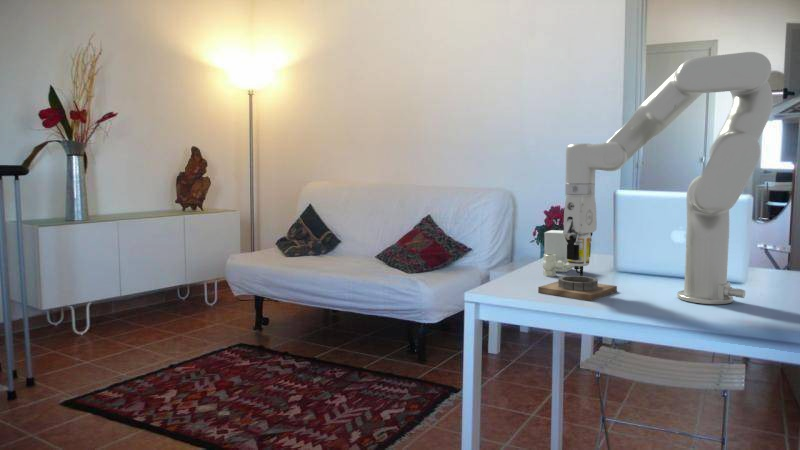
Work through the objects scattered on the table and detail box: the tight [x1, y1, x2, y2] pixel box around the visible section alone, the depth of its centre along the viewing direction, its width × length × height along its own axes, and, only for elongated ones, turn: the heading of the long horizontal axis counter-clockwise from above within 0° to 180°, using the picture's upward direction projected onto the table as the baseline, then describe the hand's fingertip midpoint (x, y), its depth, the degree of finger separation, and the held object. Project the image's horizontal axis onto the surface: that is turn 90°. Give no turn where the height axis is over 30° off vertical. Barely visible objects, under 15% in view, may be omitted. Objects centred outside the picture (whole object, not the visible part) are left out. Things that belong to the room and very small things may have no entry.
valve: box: [542, 253, 584, 277], centre depth 188 cm, size 7×7×12 cm
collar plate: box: [537, 275, 618, 302], centre depth 164 cm, size 15×15×4 cm
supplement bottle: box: [568, 231, 591, 267], centre depth 163 cm, size 6×6×10 cm
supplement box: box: [543, 229, 573, 273], centre depth 198 cm, size 7×7×13 cm
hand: (578, 257), depth 163 cm, fingers closed on supplement bottle, 5 cm apart
